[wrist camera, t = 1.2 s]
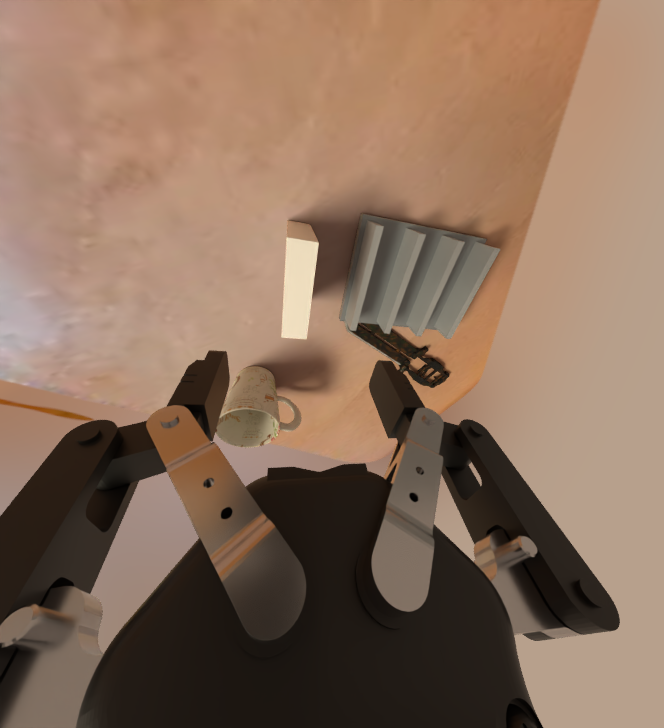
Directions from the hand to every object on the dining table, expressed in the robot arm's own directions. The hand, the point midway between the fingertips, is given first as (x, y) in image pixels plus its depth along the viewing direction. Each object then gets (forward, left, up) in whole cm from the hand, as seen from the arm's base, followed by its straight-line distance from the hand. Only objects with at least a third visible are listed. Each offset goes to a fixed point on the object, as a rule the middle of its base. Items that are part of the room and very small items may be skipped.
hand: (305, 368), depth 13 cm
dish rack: (0, +15, -21) cm, 25 cm away
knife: (+12, +18, -21) cm, 30 cm away
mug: (+20, -3, -21) cm, 29 cm away
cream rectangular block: (0, 0, -21) cm, 21 cm away
